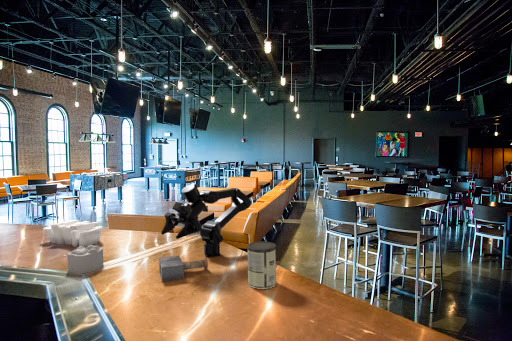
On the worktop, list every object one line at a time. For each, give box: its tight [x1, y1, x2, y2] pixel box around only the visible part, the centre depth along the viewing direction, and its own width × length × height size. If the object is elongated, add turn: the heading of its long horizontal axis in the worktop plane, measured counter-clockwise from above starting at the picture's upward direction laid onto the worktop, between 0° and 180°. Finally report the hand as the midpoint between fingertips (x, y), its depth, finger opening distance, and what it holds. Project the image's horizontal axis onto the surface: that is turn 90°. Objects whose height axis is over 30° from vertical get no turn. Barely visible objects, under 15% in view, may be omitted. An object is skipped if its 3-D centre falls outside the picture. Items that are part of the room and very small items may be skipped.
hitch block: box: [158, 255, 185, 282], centre depth 122 cm, size 8×12×5 cm, turn 22°
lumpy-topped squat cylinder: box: [67, 244, 104, 275], centre depth 130 cm, size 10×13×9 cm
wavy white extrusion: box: [42, 219, 104, 248], centre depth 169 cm, size 35×16×11 cm, turn 63°
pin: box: [182, 256, 209, 271], centre depth 125 cm, size 13×5×5 cm, turn 112°
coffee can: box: [246, 240, 277, 290], centre depth 113 cm, size 10×10×14 cm
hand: (168, 236), depth 128 cm, fingers open, 9 cm apart
